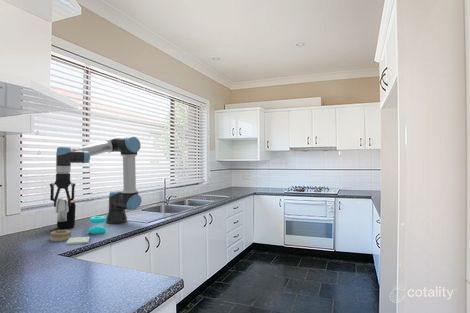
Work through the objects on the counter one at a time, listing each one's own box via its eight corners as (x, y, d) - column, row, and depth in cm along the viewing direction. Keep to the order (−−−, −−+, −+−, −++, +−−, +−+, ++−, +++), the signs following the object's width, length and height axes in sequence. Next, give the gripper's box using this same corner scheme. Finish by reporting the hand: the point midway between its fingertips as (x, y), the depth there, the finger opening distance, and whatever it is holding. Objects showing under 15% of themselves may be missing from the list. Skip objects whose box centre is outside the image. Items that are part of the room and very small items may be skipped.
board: (90, 238, 183) (90, 236, 183) (88, 243, 173) (88, 241, 173) (69, 239, 179) (69, 237, 179) (66, 244, 169) (66, 242, 169)
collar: (72, 235, 187) (72, 229, 187) (69, 240, 177) (69, 233, 177) (52, 236, 183) (52, 230, 183) (48, 241, 174) (48, 234, 174)
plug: (67, 219, 184) (67, 198, 184) (65, 221, 179) (66, 199, 179) (58, 220, 182) (58, 198, 182) (56, 221, 178) (57, 199, 178)
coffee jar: (78, 226, 212) (79, 200, 213) (68, 229, 202) (69, 202, 202) (63, 225, 214) (64, 199, 214) (53, 228, 203) (54, 201, 203)
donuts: (100, 215, 204) (109, 217, 199) (99, 229, 204) (108, 232, 199) (86, 217, 196) (95, 219, 190) (85, 232, 196) (94, 235, 190)
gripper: (44, 173, 174) (43, 214, 174) (79, 173, 180) (77, 212, 180) (47, 172, 181) (46, 211, 181) (80, 172, 187) (79, 210, 187)
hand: (62, 212), depth 181 cm, fingers closed on plug, 5 cm apart
